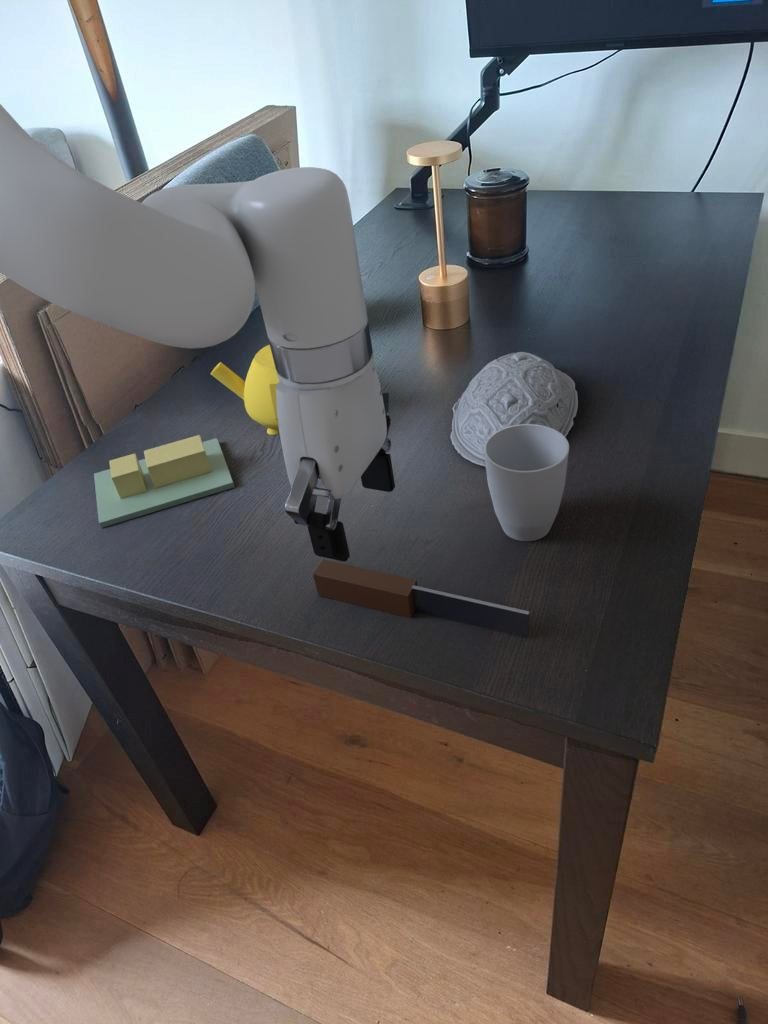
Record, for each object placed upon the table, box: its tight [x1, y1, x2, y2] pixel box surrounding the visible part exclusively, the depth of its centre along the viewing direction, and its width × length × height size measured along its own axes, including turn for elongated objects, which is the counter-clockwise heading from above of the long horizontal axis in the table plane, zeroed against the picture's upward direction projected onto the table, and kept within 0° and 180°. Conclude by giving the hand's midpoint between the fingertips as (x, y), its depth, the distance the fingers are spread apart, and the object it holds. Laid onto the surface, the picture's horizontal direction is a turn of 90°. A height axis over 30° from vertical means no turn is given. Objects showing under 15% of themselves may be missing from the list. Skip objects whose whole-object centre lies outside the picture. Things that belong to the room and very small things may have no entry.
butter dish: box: [93, 437, 235, 529], centre depth 94 cm, size 16×11×1 cm
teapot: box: [210, 344, 280, 436], centre depth 99 cm, size 20×18×11 cm
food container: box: [449, 351, 579, 468], centre depth 95 cm, size 16×25×7 cm, turn 163°
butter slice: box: [108, 453, 147, 499], centre depth 92 cm, size 3×4×3 cm
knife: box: [312, 558, 531, 638], centre depth 71 cm, size 21×2×3 cm, turn 66°
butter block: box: [143, 434, 211, 488], centre depth 93 cm, size 7×4×3 cm, turn 110°
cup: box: [484, 424, 570, 542], centre depth 76 cm, size 8×8×10 cm
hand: (356, 520), depth 68 cm, fingers open, 9 cm apart
